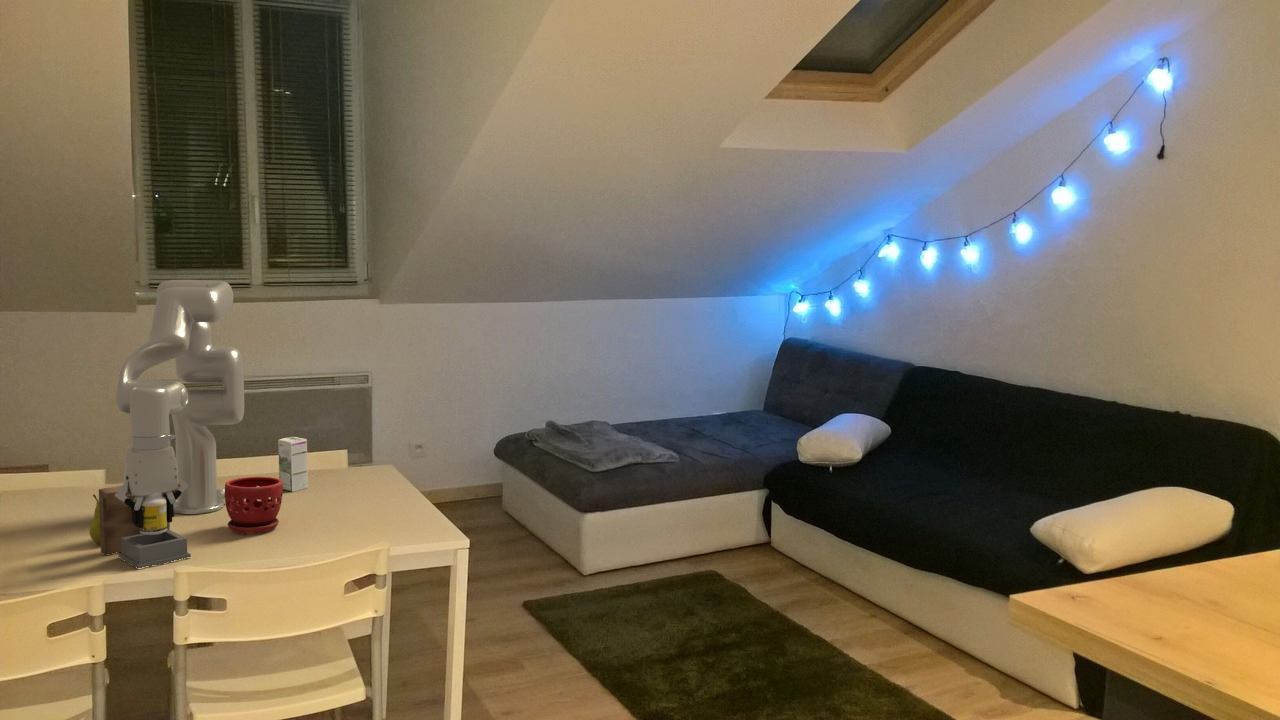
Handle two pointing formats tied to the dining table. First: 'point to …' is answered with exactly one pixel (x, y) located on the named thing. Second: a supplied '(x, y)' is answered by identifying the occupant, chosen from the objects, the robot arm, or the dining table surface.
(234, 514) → the plant pot
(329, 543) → the dining table surface
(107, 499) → the wooden block
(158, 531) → the supplement bottle
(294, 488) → the syrup box
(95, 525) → the fruit
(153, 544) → the socket
